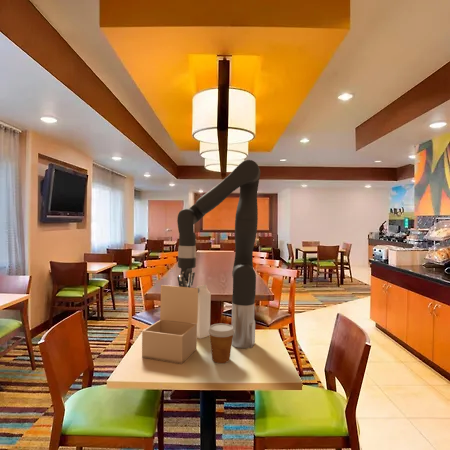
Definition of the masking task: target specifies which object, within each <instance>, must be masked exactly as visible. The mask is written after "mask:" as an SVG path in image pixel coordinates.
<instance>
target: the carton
mask: <svg viewBox="0 0 450 450" xmlns="http://www.w3.org/2000/svg"><path fill="white" fill-rule="evenodd" d="M141 332H142V333H141V359H147V360H154V361H155V360H156V361H161V362H168V363H173V364H180V365H182V364H184V362H186V360H188V358H190V356H191V355H192V354H194V353H195V351H196V350H197V346H198V345H197V341H198V339H197V324H192V323H185V322H177V321H168V320H160V319H159V320H157V321H156V322H154V323H152V324H151V325H149V326H148V327H147V328H144V329H143V330H142V331H141Z"/></svg>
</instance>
